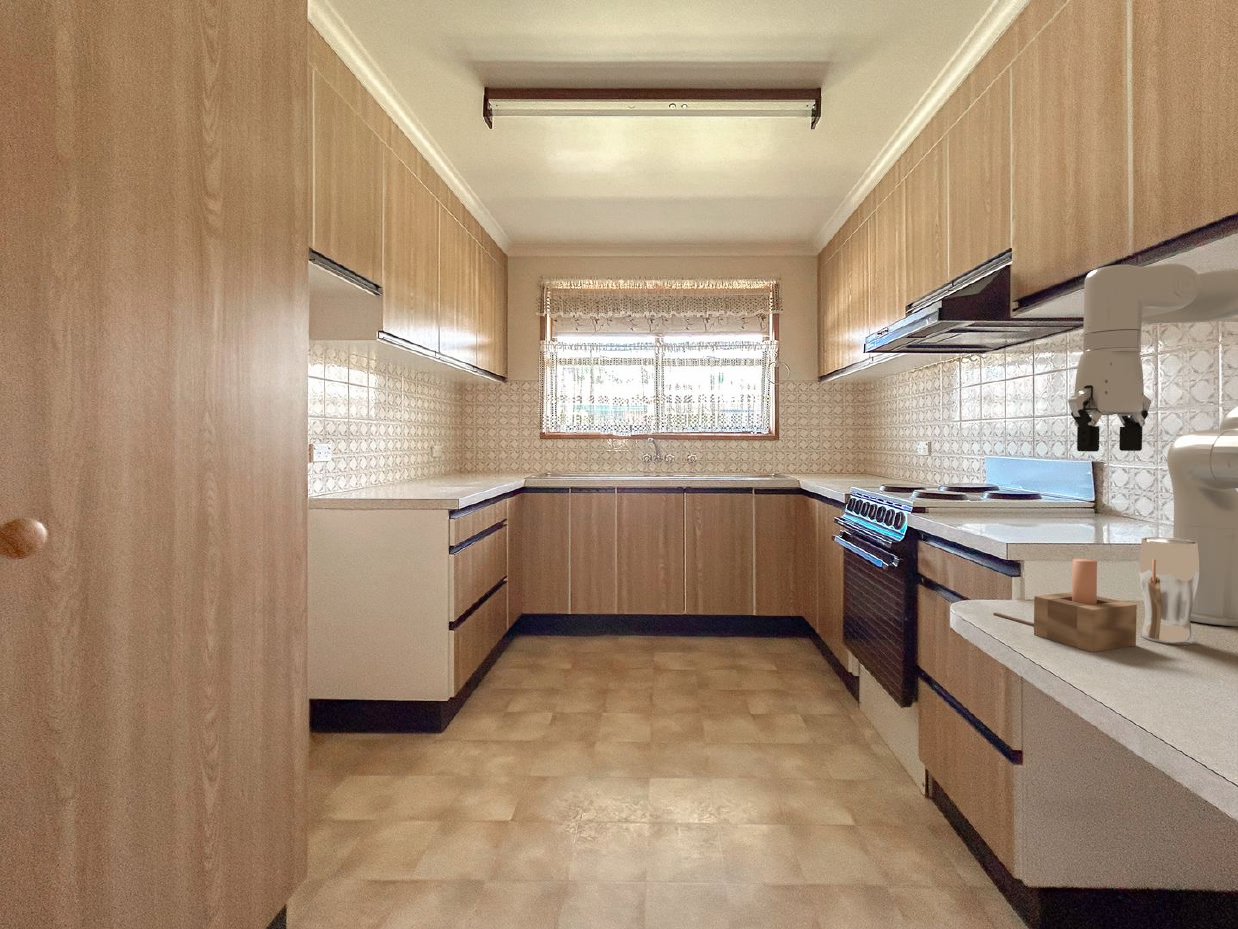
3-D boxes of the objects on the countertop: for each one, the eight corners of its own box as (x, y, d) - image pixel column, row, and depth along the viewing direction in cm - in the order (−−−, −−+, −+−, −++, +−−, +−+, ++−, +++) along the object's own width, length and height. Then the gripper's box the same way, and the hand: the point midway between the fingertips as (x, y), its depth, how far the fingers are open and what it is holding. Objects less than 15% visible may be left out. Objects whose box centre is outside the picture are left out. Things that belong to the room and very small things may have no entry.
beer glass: (1209, 647, 95) (1211, 544, 95) (1154, 645, 97) (1156, 543, 96) (1178, 633, 102) (1181, 537, 102) (1127, 631, 104) (1130, 536, 103)
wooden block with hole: (1075, 629, 105) (1076, 591, 105) (1135, 645, 97) (1136, 604, 96) (1033, 634, 102) (1034, 596, 102) (1091, 651, 94) (1092, 610, 94)
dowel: (1080, 635, 101) (1082, 558, 101) (1100, 641, 99) (1102, 561, 98) (1066, 637, 100) (1067, 559, 100) (1086, 643, 98) (1087, 562, 97)
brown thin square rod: (996, 614, 114) (996, 612, 114) (1050, 629, 105) (1050, 628, 105) (993, 614, 114) (993, 613, 114) (1047, 630, 105) (1047, 628, 104)
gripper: (1124, 350, 113) (1122, 450, 113) (1050, 346, 107) (1048, 451, 108) (1173, 344, 106) (1171, 450, 106) (1096, 339, 100) (1094, 451, 101)
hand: (1109, 451), depth 107 cm, fingers open, 9 cm apart
